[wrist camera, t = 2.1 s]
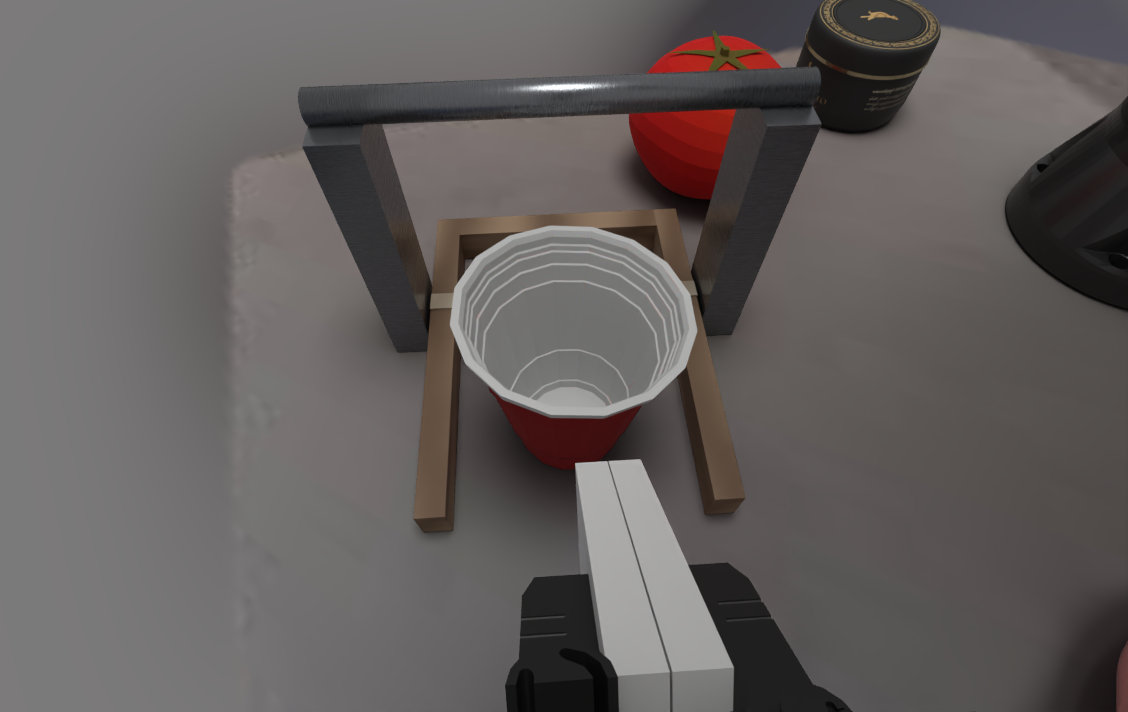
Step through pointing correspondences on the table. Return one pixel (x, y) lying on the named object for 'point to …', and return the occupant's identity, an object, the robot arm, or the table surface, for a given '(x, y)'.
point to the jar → (867, 58)
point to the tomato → (693, 118)
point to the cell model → (1122, 681)
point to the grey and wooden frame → (422, 313)
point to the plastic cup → (572, 335)
